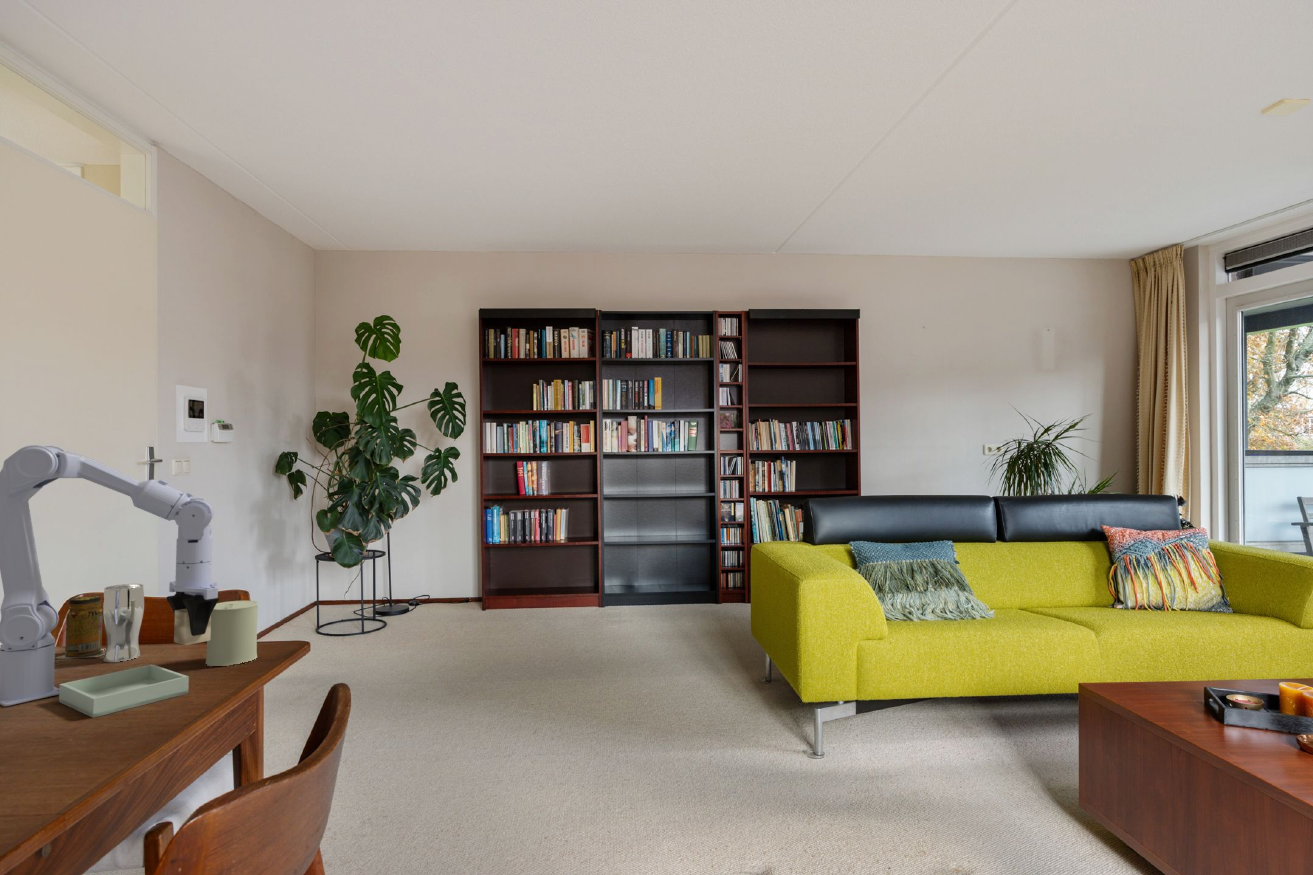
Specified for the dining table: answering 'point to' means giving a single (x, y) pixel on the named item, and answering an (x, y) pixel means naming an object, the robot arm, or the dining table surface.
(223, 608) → the can
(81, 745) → the dining table surface
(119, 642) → the beer glass
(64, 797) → the dining table surface
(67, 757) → the dining table surface
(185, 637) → the birch block
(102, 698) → the bin
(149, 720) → the dining table surface
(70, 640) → the condiment
